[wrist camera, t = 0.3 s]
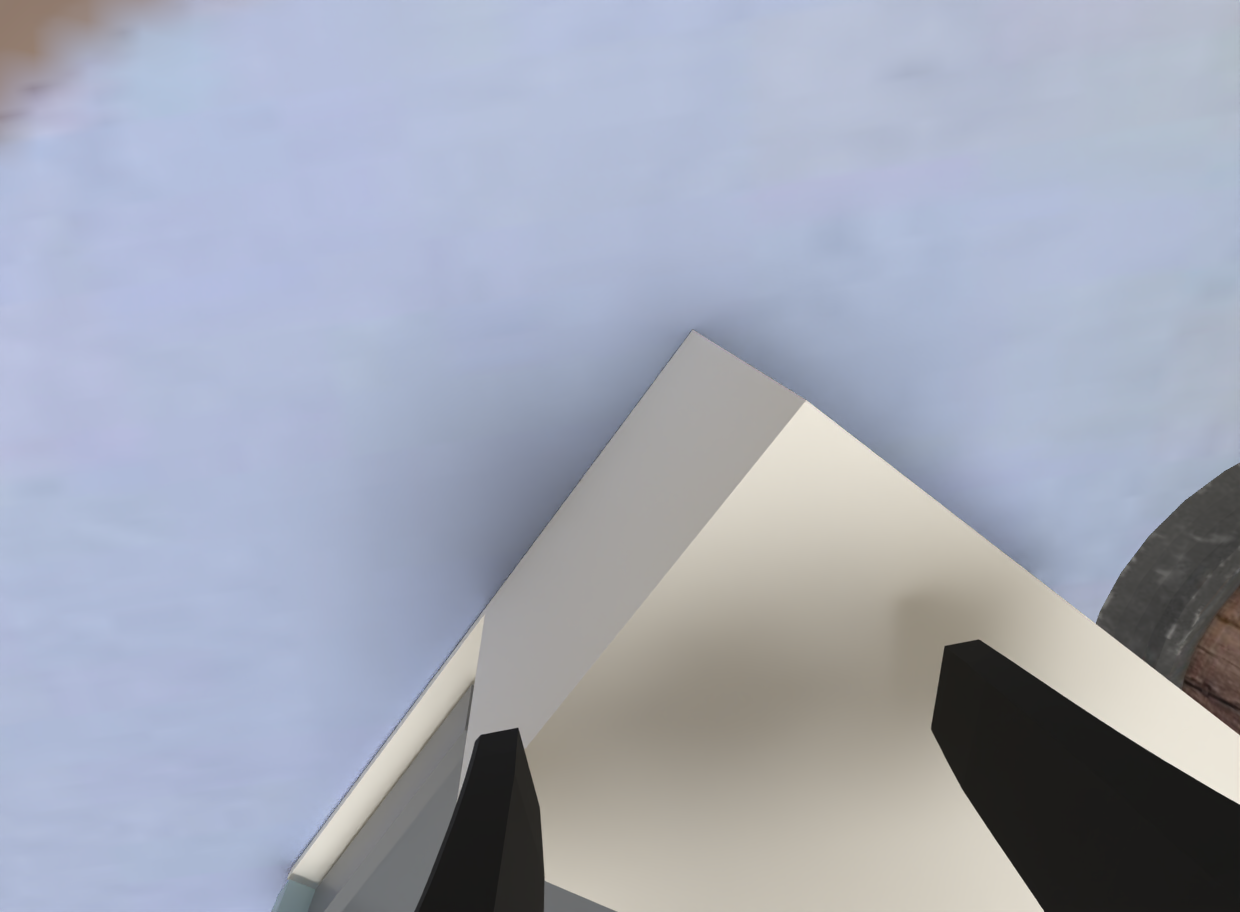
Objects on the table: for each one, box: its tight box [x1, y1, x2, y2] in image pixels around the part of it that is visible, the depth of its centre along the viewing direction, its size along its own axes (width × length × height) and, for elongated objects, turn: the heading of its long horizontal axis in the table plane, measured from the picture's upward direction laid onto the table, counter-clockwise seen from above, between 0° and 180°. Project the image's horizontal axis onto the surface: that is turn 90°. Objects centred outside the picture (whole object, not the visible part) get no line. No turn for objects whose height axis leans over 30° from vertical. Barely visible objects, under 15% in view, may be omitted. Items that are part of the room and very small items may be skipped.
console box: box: [287, 330, 1240, 912], centre depth 20 cm, size 24×16×9 cm, turn 143°
